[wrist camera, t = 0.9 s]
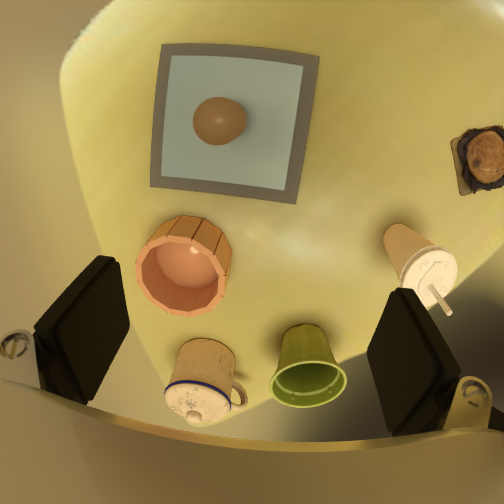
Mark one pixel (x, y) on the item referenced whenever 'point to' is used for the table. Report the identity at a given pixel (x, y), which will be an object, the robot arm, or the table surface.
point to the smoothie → (421, 265)
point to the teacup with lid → (204, 382)
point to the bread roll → (479, 159)
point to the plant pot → (306, 369)
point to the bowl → (185, 266)
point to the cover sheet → (263, 127)
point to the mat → (300, 126)
